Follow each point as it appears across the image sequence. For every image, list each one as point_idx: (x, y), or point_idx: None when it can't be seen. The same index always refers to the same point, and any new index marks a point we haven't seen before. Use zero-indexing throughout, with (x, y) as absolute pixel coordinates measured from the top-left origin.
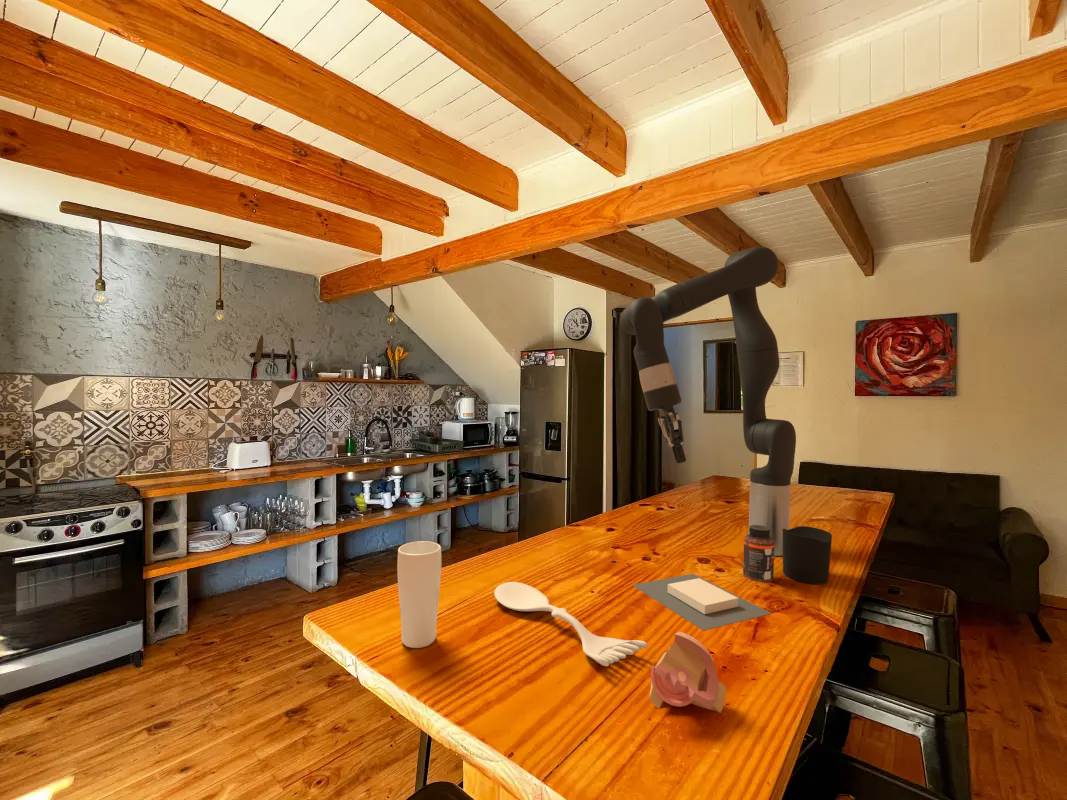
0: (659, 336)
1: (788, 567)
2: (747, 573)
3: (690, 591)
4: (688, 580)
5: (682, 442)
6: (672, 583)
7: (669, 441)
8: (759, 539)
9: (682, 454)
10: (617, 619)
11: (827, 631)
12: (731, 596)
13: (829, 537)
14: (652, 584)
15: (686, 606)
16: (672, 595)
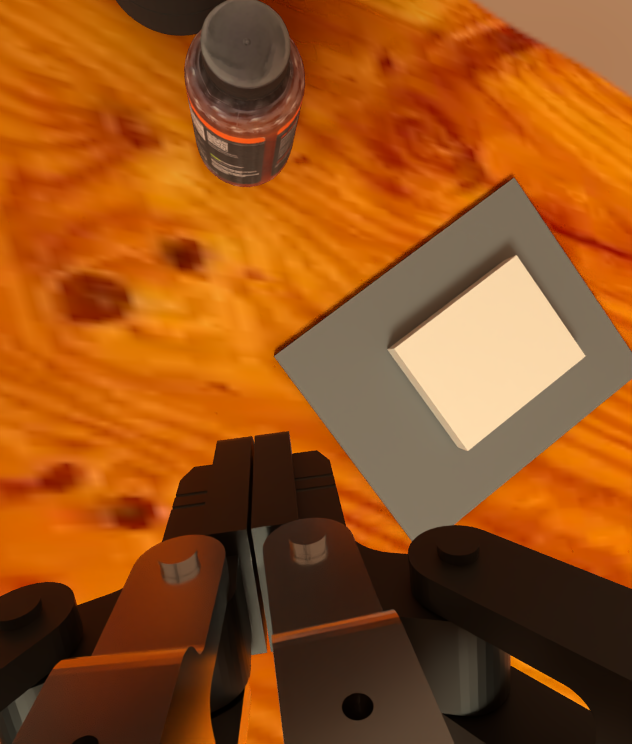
0: None
1: (205, 12)
2: (270, 174)
3: (505, 386)
4: (422, 385)
5: (316, 525)
6: (458, 436)
7: (245, 732)
8: (292, 78)
9: (334, 484)
10: (614, 570)
11: (556, 66)
12: (511, 272)
13: None
14: (401, 490)
15: None
16: None
